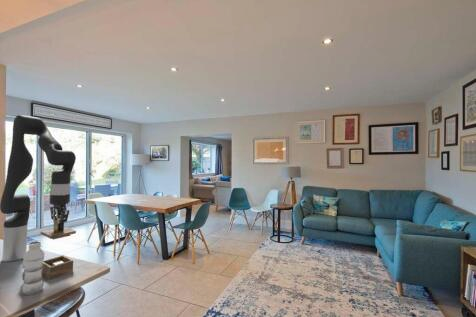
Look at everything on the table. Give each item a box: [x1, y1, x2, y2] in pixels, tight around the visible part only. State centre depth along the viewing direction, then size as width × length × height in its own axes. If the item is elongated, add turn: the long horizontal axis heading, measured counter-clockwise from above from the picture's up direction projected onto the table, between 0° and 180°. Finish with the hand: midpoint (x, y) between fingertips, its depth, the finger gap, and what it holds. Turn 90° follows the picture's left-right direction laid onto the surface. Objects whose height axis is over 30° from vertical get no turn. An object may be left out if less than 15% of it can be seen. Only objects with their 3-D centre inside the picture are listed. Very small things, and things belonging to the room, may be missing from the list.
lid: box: [40, 220, 77, 240], centre depth 110 cm, size 11×10×7 cm
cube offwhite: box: [52, 260, 64, 266], centre depth 112 cm, size 4×4×4 cm
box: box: [42, 255, 74, 280], centre depth 110 cm, size 10×9×6 cm
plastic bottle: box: [21, 241, 45, 296], centre depth 94 cm, size 6×7×20 cm
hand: (58, 229), depth 110 cm, fingers closed on lid, 3 cm apart
